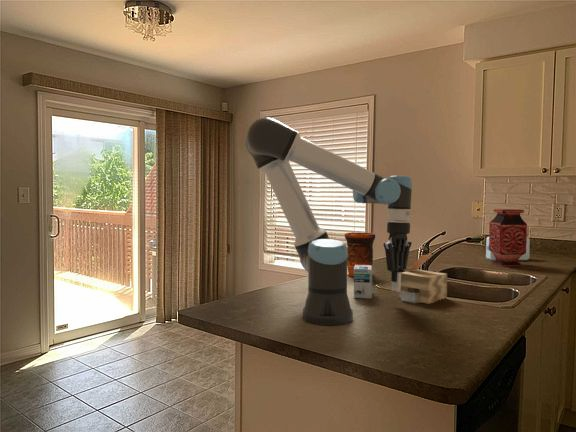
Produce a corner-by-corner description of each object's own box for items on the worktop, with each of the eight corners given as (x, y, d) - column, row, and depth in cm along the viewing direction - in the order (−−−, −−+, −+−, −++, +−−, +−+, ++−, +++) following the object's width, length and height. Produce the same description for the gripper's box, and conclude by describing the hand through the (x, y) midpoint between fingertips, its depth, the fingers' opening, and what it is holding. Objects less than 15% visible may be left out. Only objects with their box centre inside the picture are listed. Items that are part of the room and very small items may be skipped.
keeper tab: (407, 271, 158) (406, 269, 159) (417, 269, 162) (416, 268, 163) (422, 256, 153) (421, 255, 154) (432, 255, 157) (431, 253, 158)
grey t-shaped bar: (415, 303, 147) (415, 293, 147) (400, 300, 152) (401, 291, 151) (441, 296, 158) (441, 287, 158) (427, 293, 163) (427, 284, 162)
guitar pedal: (523, 258, 255) (523, 236, 254) (529, 259, 249) (529, 237, 248) (485, 258, 254) (485, 236, 253) (490, 260, 248) (490, 237, 247)
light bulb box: (372, 299, 154) (372, 269, 153) (353, 298, 155) (353, 268, 155) (372, 292, 164) (372, 264, 164) (354, 291, 166) (354, 264, 165)
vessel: (337, 274, 201) (338, 232, 201) (356, 272, 211) (357, 231, 210) (361, 279, 191) (362, 234, 190) (380, 276, 200) (381, 233, 200)
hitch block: (428, 303, 147) (428, 277, 146) (399, 297, 156) (399, 273, 155) (446, 298, 154) (447, 273, 154) (417, 292, 164) (418, 269, 163)
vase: (499, 267, 223) (500, 209, 222) (488, 263, 237) (489, 208, 236) (526, 267, 223) (527, 209, 222) (513, 263, 237) (514, 208, 235)
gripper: (396, 222, 137) (393, 295, 138) (419, 222, 146) (416, 290, 146) (377, 221, 143) (374, 291, 144) (400, 220, 151) (398, 286, 152)
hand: (395, 290), depth 145 cm, fingers closed
